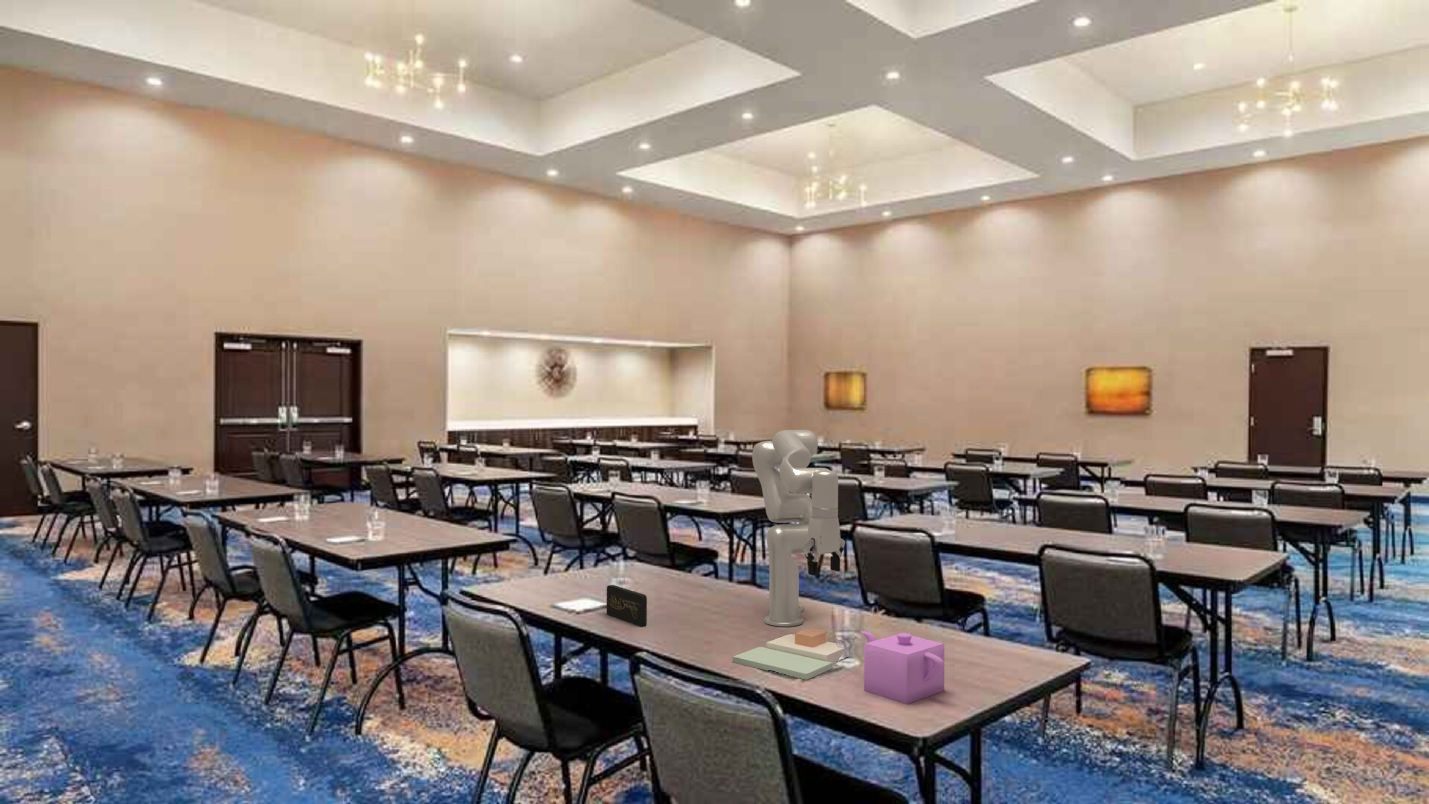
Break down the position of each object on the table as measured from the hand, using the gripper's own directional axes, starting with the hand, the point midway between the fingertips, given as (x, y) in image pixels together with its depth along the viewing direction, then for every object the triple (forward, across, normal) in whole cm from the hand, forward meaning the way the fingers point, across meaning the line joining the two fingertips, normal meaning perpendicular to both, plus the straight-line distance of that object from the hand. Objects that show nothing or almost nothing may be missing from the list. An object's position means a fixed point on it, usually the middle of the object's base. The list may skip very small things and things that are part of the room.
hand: (824, 572), depth 251 cm
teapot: (+22, +12, +36) cm, 44 cm away
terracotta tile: (+19, +6, 0) cm, 20 cm away
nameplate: (+23, +23, -65) cm, 72 cm away
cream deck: (+22, +8, +1) cm, 23 cm away
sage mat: (+22, +20, +3) cm, 30 cm away
